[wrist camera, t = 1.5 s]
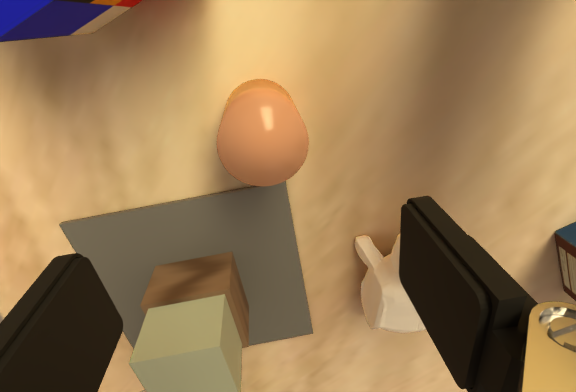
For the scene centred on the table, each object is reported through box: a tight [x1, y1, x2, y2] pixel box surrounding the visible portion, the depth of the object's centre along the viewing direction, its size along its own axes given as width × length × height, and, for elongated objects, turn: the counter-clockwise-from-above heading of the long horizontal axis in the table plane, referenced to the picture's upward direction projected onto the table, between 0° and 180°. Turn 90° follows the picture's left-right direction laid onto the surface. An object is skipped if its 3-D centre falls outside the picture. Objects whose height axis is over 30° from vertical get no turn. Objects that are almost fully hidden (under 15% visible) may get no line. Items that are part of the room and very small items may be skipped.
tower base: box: [140, 252, 249, 348], centre depth 31 cm, size 8×8×5 cm
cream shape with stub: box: [355, 233, 426, 333], centre depth 31 cm, size 9×8×15 cm
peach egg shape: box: [217, 79, 309, 186], centre depth 23 cm, size 6×6×7 cm
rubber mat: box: [59, 181, 313, 349], centre depth 34 cm, size 20×20×1 cm
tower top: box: [129, 294, 242, 392], centre depth 27 cm, size 6×6×5 cm
